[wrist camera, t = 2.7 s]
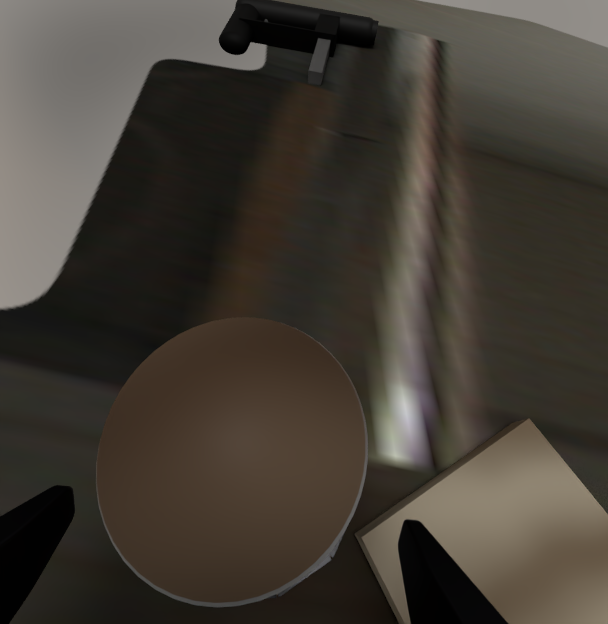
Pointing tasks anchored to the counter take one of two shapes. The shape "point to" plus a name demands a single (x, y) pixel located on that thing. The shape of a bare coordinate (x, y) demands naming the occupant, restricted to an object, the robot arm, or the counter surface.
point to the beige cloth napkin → (507, 532)
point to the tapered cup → (231, 462)
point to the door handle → (295, 30)
